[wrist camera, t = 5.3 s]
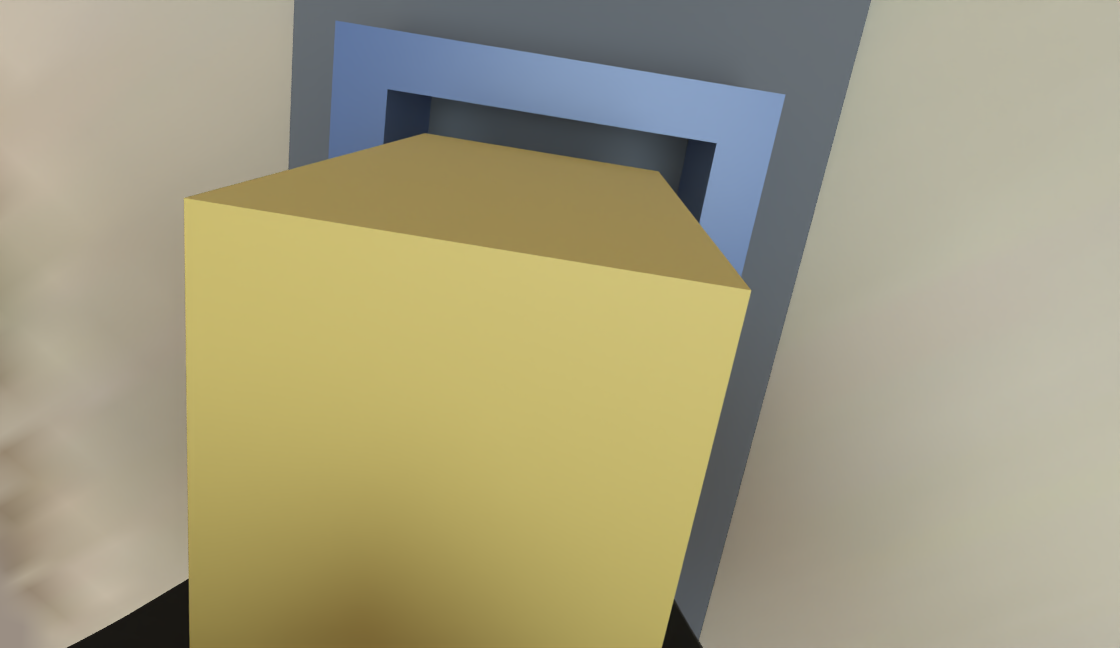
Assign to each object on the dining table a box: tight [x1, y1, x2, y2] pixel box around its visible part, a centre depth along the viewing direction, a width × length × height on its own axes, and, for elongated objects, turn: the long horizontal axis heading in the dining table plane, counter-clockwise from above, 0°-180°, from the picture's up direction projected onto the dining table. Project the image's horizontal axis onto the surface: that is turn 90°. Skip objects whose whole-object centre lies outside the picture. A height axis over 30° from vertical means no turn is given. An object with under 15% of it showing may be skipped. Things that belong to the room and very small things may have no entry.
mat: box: [289, 0, 871, 641], centre depth 15 cm, size 19×10×1 cm, turn 171°
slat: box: [184, 133, 751, 648], centre depth 9 cm, size 11×3×6 cm, turn 171°
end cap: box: [328, 21, 785, 276], centre depth 12 cm, size 4×6×3 cm, turn 81°
